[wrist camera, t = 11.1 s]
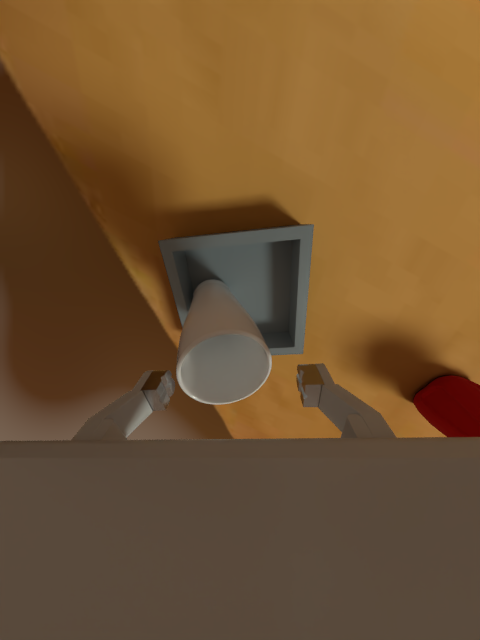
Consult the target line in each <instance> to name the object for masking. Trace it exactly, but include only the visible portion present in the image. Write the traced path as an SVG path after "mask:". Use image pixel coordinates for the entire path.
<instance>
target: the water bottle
mask: <svg viewBox="0 0 480 640" xmlns="http://www.w3.org/2000/svg"><path fill="white" fill-rule="evenodd" d="M413 403H414V405H415V406H416V408H417V410H418V411H419V412H420V413H421V414H422V415H423V416H424V417H425V419H426V420H427V421H428V422H429V423H430V424H431V425H433V426H434V427H435V428H437V429H438V430H439V431H440V432H442V433H443V434H444V435H445V436H447V437H480V385H478V384H476V383H474V382H472V381H470V380H467V379H465V378H463V377H460V376H452V375H450V376H444V377H438V378H436V379H435V380H434V381H432V382H431V383H430V384H428V385H427V386H426V387H425V388H423V389H422V390H421V391H419V392H418V393H416V394H415V397H414V400H413Z"/></svg>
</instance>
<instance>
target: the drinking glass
mask: <svg viewBox="0 0 480 640" xmlns="http://www.w3.org/2000/svg"><path fill="white" fill-rule="evenodd" d="M271 366H272V358H271V353H270V350H269V348H268V346H267V344H266V342H265V340H264V338H263V336H262V334H261V332H260V330H259V328H258V327H257V325H256V323H255V322H254V320H253V319H252V317H251V316H250V315H249V313H248V312H247V311H246V310H245V308H244V307H243V306H242V305H241V304H240V302H239V301H238V300H237V299H236V297H235V296H234V295H233V294H232V292H231V290H230V289H229V287H228V286H227V285H226V284H225V283H223V282H222V281H219V280H215V279H210V280H206V281H203V282H202V283H200V284H199V285H198V286H197V287H196V289H195V290H194V293H193V299H192V302H191V305H190V308H189V311H188V314H187V317H186V319H185V322H184V325H183V329H182V332H181V336H180V341H179V348H178V356H177V368H176V375H177V380H178V383H179V385H180V387H181V388H182V390H183V391H184V392H185V393H186V394H187V395H189V396H190V397H191V398H193V399H195V400H197V401H200V402H203V403H207V404H228V403H233V402H236V401H239V400H242V399H244V398H246V397H248V396H250V395H251V394H253V393H254V392H256V391H257V390H258V389H259V388H260V387H261V386H262V385H263V384H264V382H265V381H266V379H267V378H268V376H269V373H270V371H271Z"/></svg>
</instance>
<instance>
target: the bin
mask: <svg viewBox="0 0 480 640" xmlns="http://www.w3.org/2000/svg"><path fill="white" fill-rule="evenodd" d="M313 228H314V225H312V224H300V225H290V226H281V227H271V228H262V229H252V230H243V231H233V232H224V233H214V234H205V235H195V236H186V237H177V238H171V239H165V240H160V241H158V242H159V246H160V250H161V253H162V257H163V260H164V264H165V267H166V271H167V274H168V278H169V281H170V285H171V289H172V292H173V296H174V299H175V303H176V306H177V310H178V313H179V317H180V320H181V324H182V328H183V325H184V322H185V319H186V317H187V314H188V311H189V308H190V305H191V302H192V299H193V293H194V290H195V289H196V287H197V286H198V285H199V284H200V283H202V282H203V281H206V280H210V279H215V280H219V281H222V282H223V283H225V284H226V285H227V286H228V287H229V289H230V290H231V292H232V294H233V295H234V296H235V297H236V299H237V300H238V301H239V302H240V304H241V305H242V306H243V307H244V308H245V310H246V311H247V312H248V313H249V315H250V316H251V317H252V319H253V320H254V322H255V323H256V325H257V327H258V328H259V330H260V332H261V334H262V336H263V338H264V340H265V342H266V344H267V346H268V348H269V350H270V353H271V355H287V354H303V347H304V335H305V323H306V311H307V300H308V288H309V276H310V264H311V252H312V240H313Z"/></svg>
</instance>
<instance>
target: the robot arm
mask: <svg viewBox="0 0 480 640" xmlns="http://www.w3.org/2000/svg"><path fill="white" fill-rule="evenodd" d="M297 371H298V374H297V387H298V391H300V392H301V395H300V397H301V401H302V404H303V407H318V408H319V409H320V410H321V411H322V412H323V413H324V414H325V415H326V416H327V417H328V418H329V419H330V420H331V421H332V422H333V423H334V424H335V425H336V426H337V427H338V428H339V429H340V431H341V432H342V435H341V438H299V439H193V440H192V439H189V440H188V439H183V440H180V439H179V440H127V437H128V436H129V434H131V433H132V431H134V430H135V429H136V428H137V427H138V425H140V424H141V423H142V421H144V420H145V419H146V418H147V417H148V416H149V415H150V414H151V413H152V412H153V411H156V410H166V408H167V406H168V404H169V402H170V399H169V397H170V396H171V395H172V394H173V392H174V389H175V382H174V380H173V379H172V378H171V372H170V371H169V370H157V371H146V372H144V374H143V375H142V377H141V378H140V380H139V381H138V382H137V384H136V385H135V387H134V388H133V390H132V391H129V392H128V393H126V394H124V395H123V396H121V397H120V398H119V399H117V400H115V401H114V402H112V403H111V404H109V405H108V406H107V407H105V408H104V409H102V410H101V411H99V412H98V413H96V414H95V415H93V416H92V417H90V418H89V419H88V420H87V421H86V422H85V424H84V425H83V426H82V427H81V429H80V430H79V431H78V432H77V434H76V435H75V436H74V437H73V439H72V440H62V441H61V440H59V441H58V440H56V441H54V440H53V441H0V640H480V437H424V438H397V437H396V436H395V435H394V433H393V432H392V430H391V429H390V427H389V426H388V424H387V423H386V421H385V420H384V418H383V417H382V415H381V414H380V413H379V412H377V411H376V410H374V409H373V408H372V407H370V406H369V405H367V404H366V403H364V402H363V401H361V400H360V399H358V398H357V397H355V396H354V395H353V394H351V393H350V392H348V391H347V390H345V389H344V388H342V387H341V386H339V385H338V384H335V383H334V381H333V379H332V378H331V376H330V374H329V372H328V370H327V368H326V366H325V365H324V364H323V363H322V364H305V365H298V366H297Z"/></svg>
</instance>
